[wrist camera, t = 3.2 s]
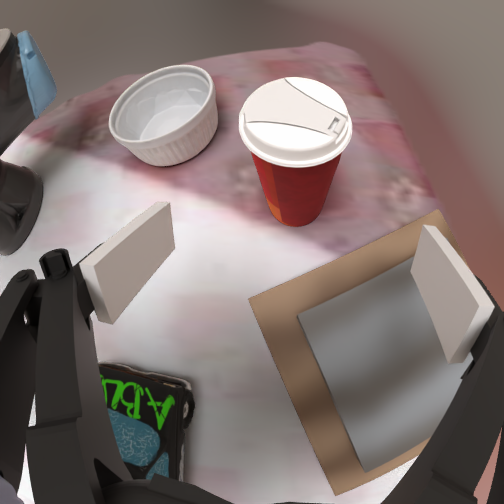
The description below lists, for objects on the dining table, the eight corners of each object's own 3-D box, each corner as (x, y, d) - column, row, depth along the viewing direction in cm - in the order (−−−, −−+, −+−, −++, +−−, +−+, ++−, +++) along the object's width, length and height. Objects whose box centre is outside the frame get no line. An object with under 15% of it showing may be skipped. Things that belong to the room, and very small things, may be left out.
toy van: (199, 377, 27) (155, 393, 17) (188, 548, 20) (160, 592, 10) (110, 356, 28) (48, 357, 19) (113, 521, 21) (72, 551, 12)
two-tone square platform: (253, 304, 28) (242, 293, 21) (423, 223, 28) (451, 195, 21) (330, 478, 22) (339, 512, 15) (488, 382, 21) (526, 386, 15)
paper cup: (343, 190, 30) (369, 96, 17) (311, 250, 29) (326, 175, 15) (280, 160, 32) (270, 62, 19) (244, 215, 31) (210, 128, 17)
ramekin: (173, 91, 38) (158, 58, 32) (246, 113, 35) (237, 74, 28) (115, 156, 36) (90, 127, 29) (182, 192, 32) (159, 159, 26)
